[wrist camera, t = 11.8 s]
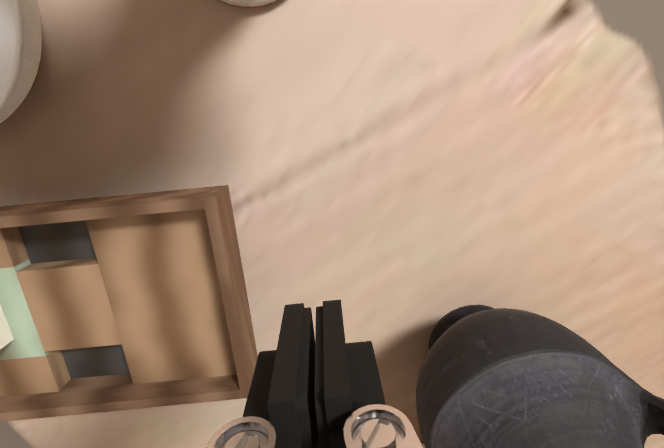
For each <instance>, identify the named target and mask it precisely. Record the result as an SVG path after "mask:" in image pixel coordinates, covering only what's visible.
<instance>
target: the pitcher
mask: <svg viewBox="0 0 664 448" xmlns="http://www.w3.org/2000/svg"><path fill="white" fill-rule="evenodd" d="M416 406H417V415H418V421H419V426H420V432H421V435H422V438H423V442H424V445H425V448H644V444H645V441H646V439H647V437H648V436H650V435H651V434H662V435H664V399H662V398H659V397H657V396H655V395H653V394H651V393H650V392H648V391H647V390H645V389H643V388H642V387H641V386H640V385H638V384H637V383H636V382H635V381H634V380H632V379H631V378H630V377H629V376H627V375H626V374H625V373H624V372H623V371H621V370H620V369H619V368H617V367H616V366H615V365H614V364H613V363H611V362H610V361H609V360H608V359H607V358H606V357H605V356H604V355H603V354H602V353H601V352H600V351H598V350H597V349H596V348H595V347H593V346H592V345H591V344H589V343H588V342H587V341H586V340H584V339H583V338H582V337H580V336H579V335H577V334H576V333H574V332H573V331H571V330H569V329H568V328H566V327H565V326H563V325H561V324H559V323H557V322H555V321H553V320H550V319H548V318H546V317H543V316H540V315H537V314H535V313H531V312H527V311H523V310H517V309H505V308H501V309H494V308H492V307H489V306H484V305H469V306H464V307H460V308H458V309H456V310H453V311H451V312H450V313H448V314H447V315H446V316H444V317H443V318H442V319H441V320H440V321H439V322H438V324H437V325H436V327H435V328H434V330H433V332H432V335H431V338H430V342H429V352H428V354H427V355H426V357H425V360H424V362H423V364H422V366H421V369H420V373H419V377H418V381H417V389H416Z"/></svg>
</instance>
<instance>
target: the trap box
mask: <svg viewBox="0 0 664 448" xmlns="http://www.w3.org/2000/svg"><path fill="white" fill-rule="evenodd" d="M0 305H1V307H2V310H3V313H4V315H5V318H6V320H7V323H8V325H9V328H10V330H11V333H12V335H13V338H14V340H12V341H11V342H10V343H8V344H7V345H6V346H4V347H3V348H2V349H0V421H12V420H22V419H33V418H43V417H53V416H64V415H74V414H85V413H95V412H105V411H116V410H126V409H137V408H147V407H157V406H168V405H178V404H188V403H199V402H209V401H220V400H230V399H240V398H248V394H249V390H250V386H251V382H252V378H253V374H254V370H255V366H256V362H257V358H258V356H257V350H256V344H255V339H254V333H253V327H252V321H251V316H250V310H249V304H248V298H247V292H246V287H245V281H244V275H243V269H242V263H241V258H240V252H239V246H238V240H237V234H236V229H235V223H234V217H233V211H232V206H231V200H230V194H229V188H228V185H227V186H216V187H206V188H195V189H185V190H174V191H163V192H153V193H142V194H132V195H121V196H111V197H100V198H89V199H79V200H68V201H58V202H47V203H37V204H26V205H15V206H5V207H0Z"/></svg>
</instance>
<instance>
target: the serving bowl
mask: <svg viewBox="0 0 664 448" xmlns="http://www.w3.org/2000/svg"><path fill="white" fill-rule="evenodd" d="M41 50H42V29H41V20H40V13H39V9H38V4H37V0H0V123H2V122H3V121H4V120H5V119H7V118H8V117H9V116H10V115H11V114H12V113H13V112H14V111H15V110H16V109H17V108H18V107H19V106H20V104H21V103H22V102H23V100H24V99H25V98H26V96H27V94H28V93H29V91H30V89H31V87H32V85H33V83H34V80H35V77H36V75H37V71H38V67H39V63H40V58H41Z"/></svg>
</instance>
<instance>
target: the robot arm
mask: <svg viewBox="0 0 664 448" xmlns="http://www.w3.org/2000/svg"><path fill="white" fill-rule="evenodd" d="M221 1H223V2H226V3H228V4H231V5H237V6H243V7H254V6H262V5H266V4H269V3H273V2H275V1H277V0H221ZM206 448H423V446H422V444H421V442H420V440H419V438H418V436H417V434H416V432H415V430H414V428H413V426H412V424H411V422H410V421H409V419H408V418H407V417H406V415H405V414H403V413H402V412H401V411H399V410H398V409H396V408H393V407H391V406H388V405H386V404H385V399H384V395H383V391H382V386H381V382H380V377H379V373H378V368H377V364H376V359H375V355H374V350H373V346H372V342H371V341H366V342H356V343H346V344H345V335H344V326H343V317H342V308H341V300H333V301H323V306H320V307H316V339H315V337H314V329H313V320H312V312H311V307H310V308H304V304H303V303H301V304H291V305H285V308H284V313H283V319H282V324H281V330H280V335H279V341H278V346H277V350H273V351H262V352H260V353H259V355H258V358H257V362H256V366H255V370H254V374H253V378H252V382H251V386H250V390H249V394H248V398H247V402H246V406H245V410H244V414H243V417H242V418H239V419H236V420H233V421H231V422H229V423H227V424H226V425H224V426H222V427H221V428H220V429H219V430H218V431H217V432H216V433H215V434H214V435H213V437H212V438H211V439H210V441H209V442H208V444H207V446H206Z"/></svg>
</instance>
